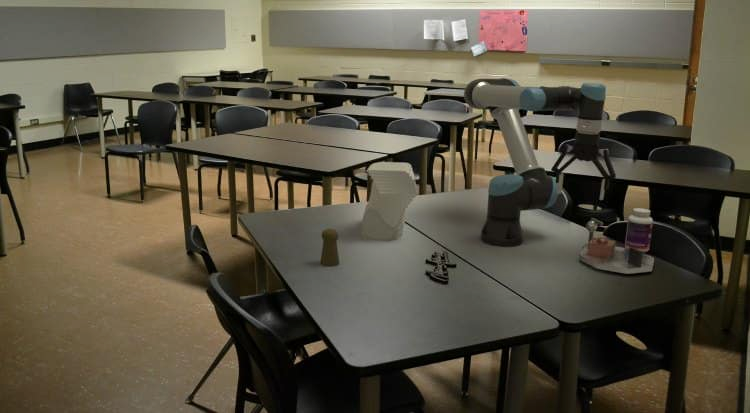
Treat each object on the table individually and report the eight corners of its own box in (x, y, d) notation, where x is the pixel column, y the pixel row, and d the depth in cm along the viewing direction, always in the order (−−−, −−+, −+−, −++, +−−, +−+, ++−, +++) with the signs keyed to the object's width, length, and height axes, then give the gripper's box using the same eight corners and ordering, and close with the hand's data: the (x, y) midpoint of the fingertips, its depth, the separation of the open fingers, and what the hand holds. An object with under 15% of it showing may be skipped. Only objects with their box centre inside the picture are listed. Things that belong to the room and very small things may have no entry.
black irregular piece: (460, 281, 184) (426, 280, 184) (460, 286, 184) (426, 285, 184) (453, 251, 210) (423, 250, 211) (453, 255, 211) (423, 254, 211)
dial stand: (580, 250, 218) (584, 220, 215) (585, 246, 223) (588, 216, 220) (599, 254, 215) (602, 223, 212) (603, 249, 220) (606, 219, 217)
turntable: (567, 253, 212) (569, 234, 210) (621, 248, 219) (623, 229, 217) (610, 275, 192) (612, 255, 190) (668, 269, 199) (671, 249, 197)
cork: (342, 261, 201) (342, 228, 198) (334, 267, 195) (335, 233, 193) (324, 259, 203) (325, 226, 200) (317, 265, 197) (317, 231, 194)
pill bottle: (651, 254, 216) (657, 214, 212) (626, 252, 217) (631, 212, 214) (646, 247, 224) (651, 208, 220) (622, 245, 225) (627, 206, 222)
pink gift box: (587, 254, 206) (589, 239, 205) (592, 248, 212) (594, 234, 211) (609, 258, 203) (611, 243, 201) (614, 252, 209) (616, 238, 207)
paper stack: (353, 240, 222) (354, 169, 216) (371, 220, 248) (373, 156, 241) (412, 246, 218) (415, 173, 211) (424, 225, 243) (428, 160, 237)
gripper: (546, 129, 205) (539, 192, 211) (627, 137, 194) (618, 204, 199) (552, 127, 211) (545, 188, 217) (630, 134, 200) (621, 199, 206)
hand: (580, 196), depth 208 cm, fingers open, 13 cm apart
